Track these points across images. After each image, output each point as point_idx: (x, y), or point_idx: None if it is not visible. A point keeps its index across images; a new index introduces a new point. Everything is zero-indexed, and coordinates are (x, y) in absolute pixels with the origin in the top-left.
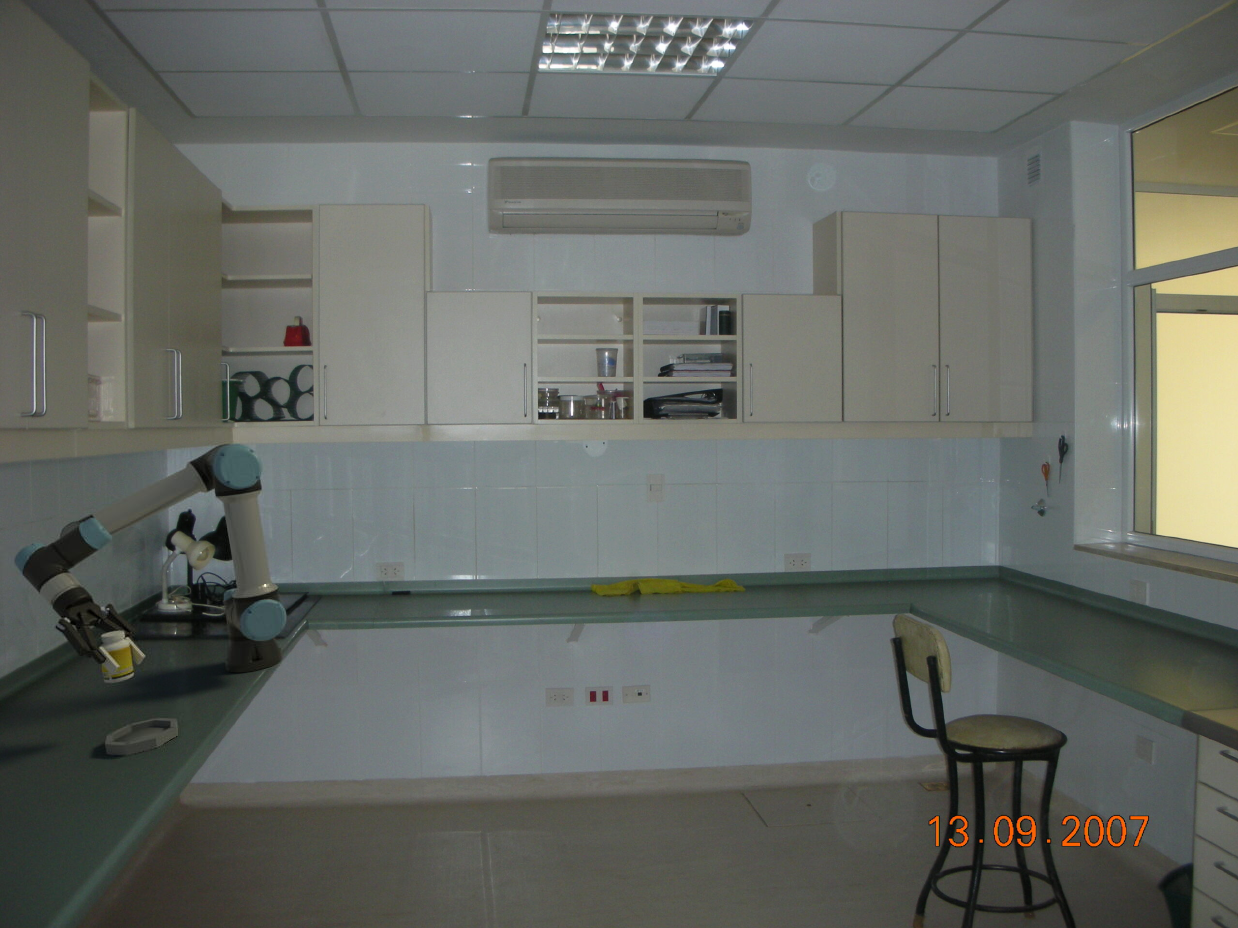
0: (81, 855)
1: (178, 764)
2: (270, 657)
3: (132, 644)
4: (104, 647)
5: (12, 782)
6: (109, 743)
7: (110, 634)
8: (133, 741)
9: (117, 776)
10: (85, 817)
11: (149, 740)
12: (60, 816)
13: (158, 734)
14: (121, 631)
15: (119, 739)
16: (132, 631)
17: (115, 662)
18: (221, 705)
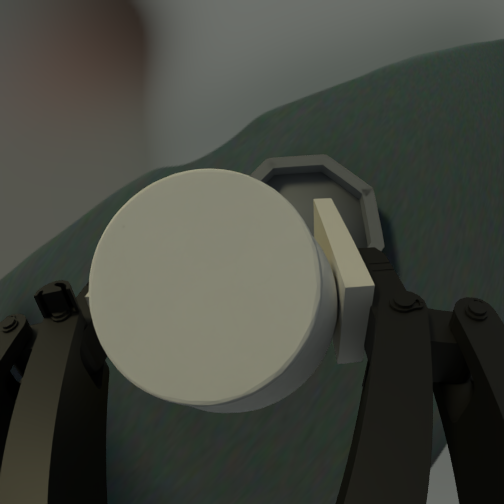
0: (497, 61)
1: (354, 86)
2: None
3: None
4: (326, 283)
5: None
6: (379, 237)
7: (223, 279)
8: (354, 187)
9: (422, 144)
10: (483, 100)
11: (335, 162)
12: (501, 131)
13: (310, 162)
14: (117, 241)
15: None
16: (19, 322)
17: (322, 209)
18: None
